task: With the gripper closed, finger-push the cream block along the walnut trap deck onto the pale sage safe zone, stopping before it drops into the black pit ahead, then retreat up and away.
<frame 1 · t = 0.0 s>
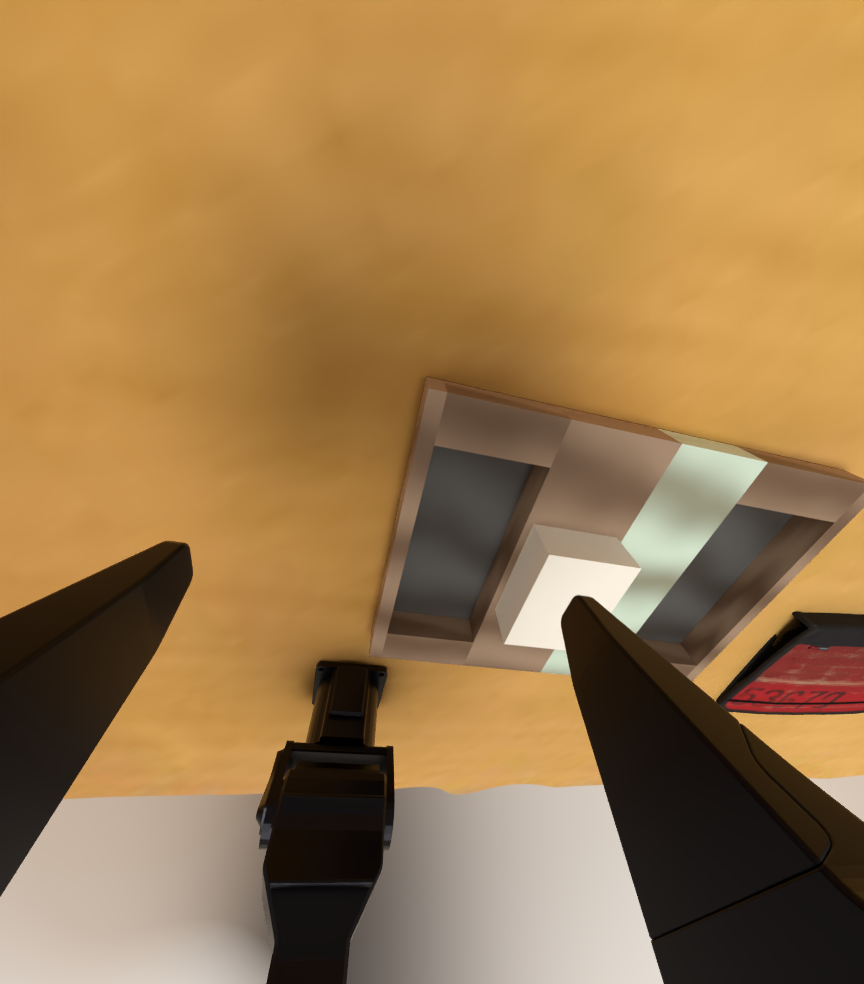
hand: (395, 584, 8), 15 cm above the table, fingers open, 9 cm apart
cream block: (552, 575, 25), point 2 cm above the table, touching trap deck
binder: (828, 659, 39), on the table
trap deck: (582, 558, 28), on the table
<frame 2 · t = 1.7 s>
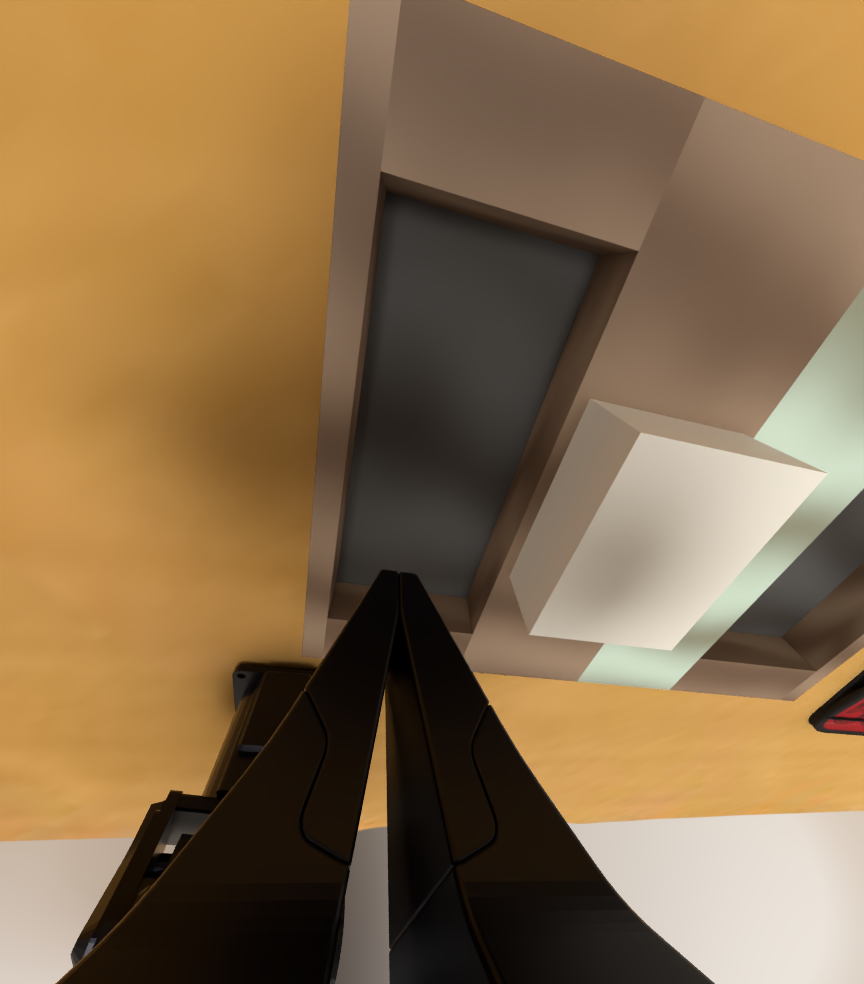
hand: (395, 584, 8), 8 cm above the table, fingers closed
cream block: (614, 512, 14), point 2 cm above the table, touching trap deck
trap deck: (654, 494, 17), on the table
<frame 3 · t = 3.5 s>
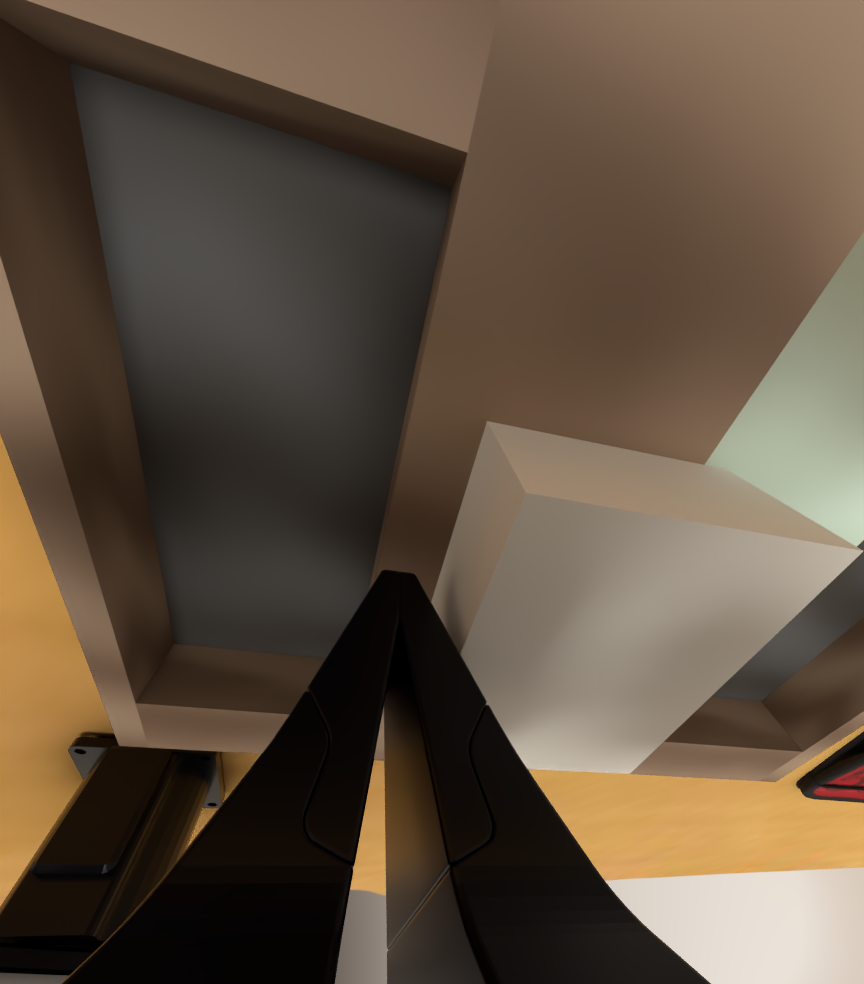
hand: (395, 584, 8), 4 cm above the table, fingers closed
cream block: (547, 576, 10), point 3 cm above the table, touching gripper, trap deck
trap deck: (583, 536, 13), on the table
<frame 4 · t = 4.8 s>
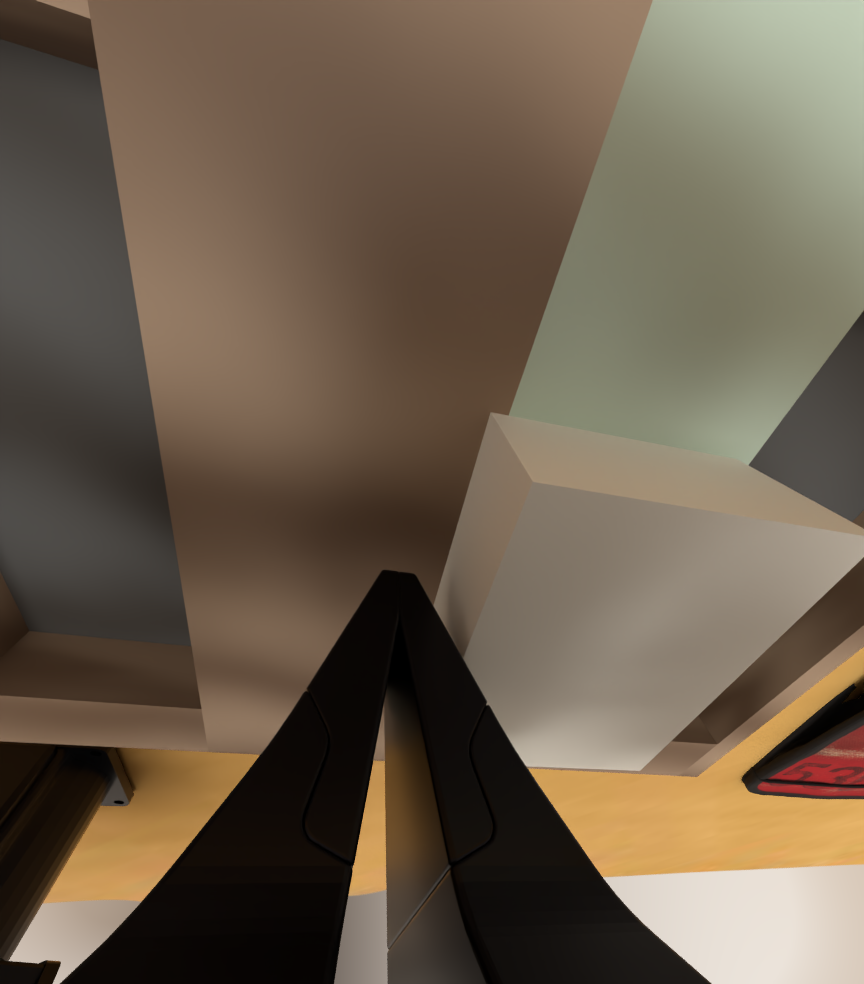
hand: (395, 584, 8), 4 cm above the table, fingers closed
cream block: (553, 570, 10), point 2 cm above the table, touching gripper, trap deck
trap deck: (448, 511, 12), on the table
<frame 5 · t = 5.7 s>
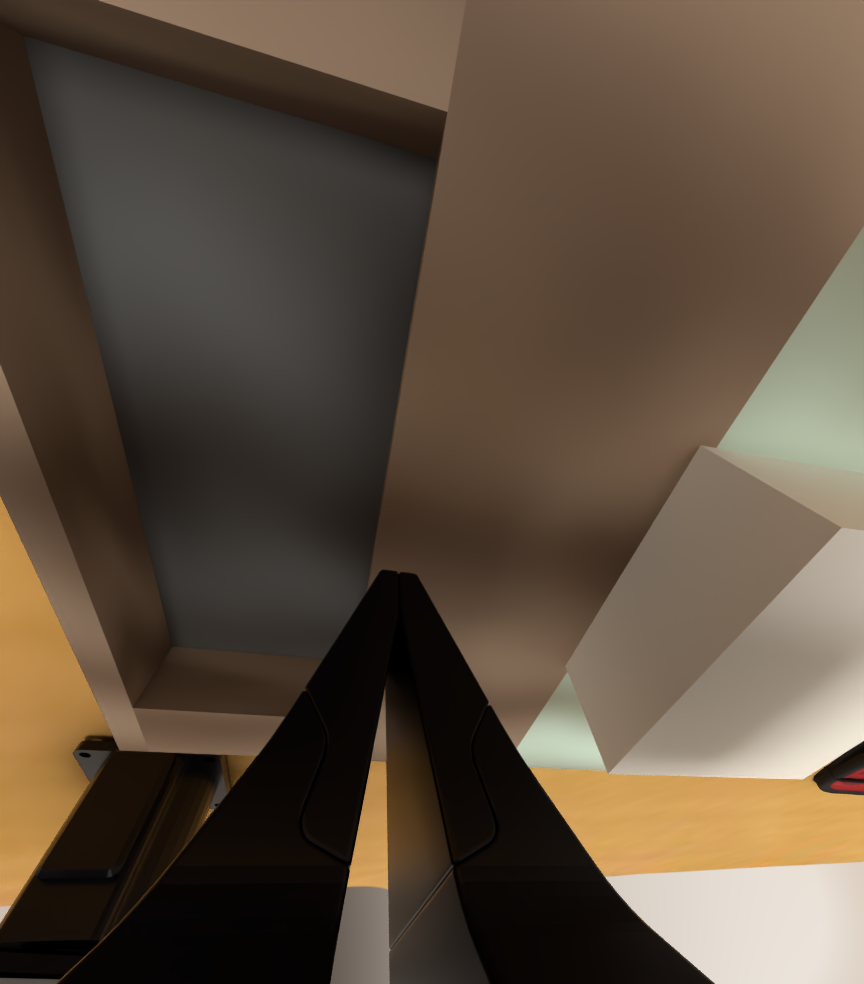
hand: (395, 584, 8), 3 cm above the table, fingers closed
cream block: (714, 588, 10), point 2 cm above the table, touching trap deck
trap deck: (588, 529, 12), on the table
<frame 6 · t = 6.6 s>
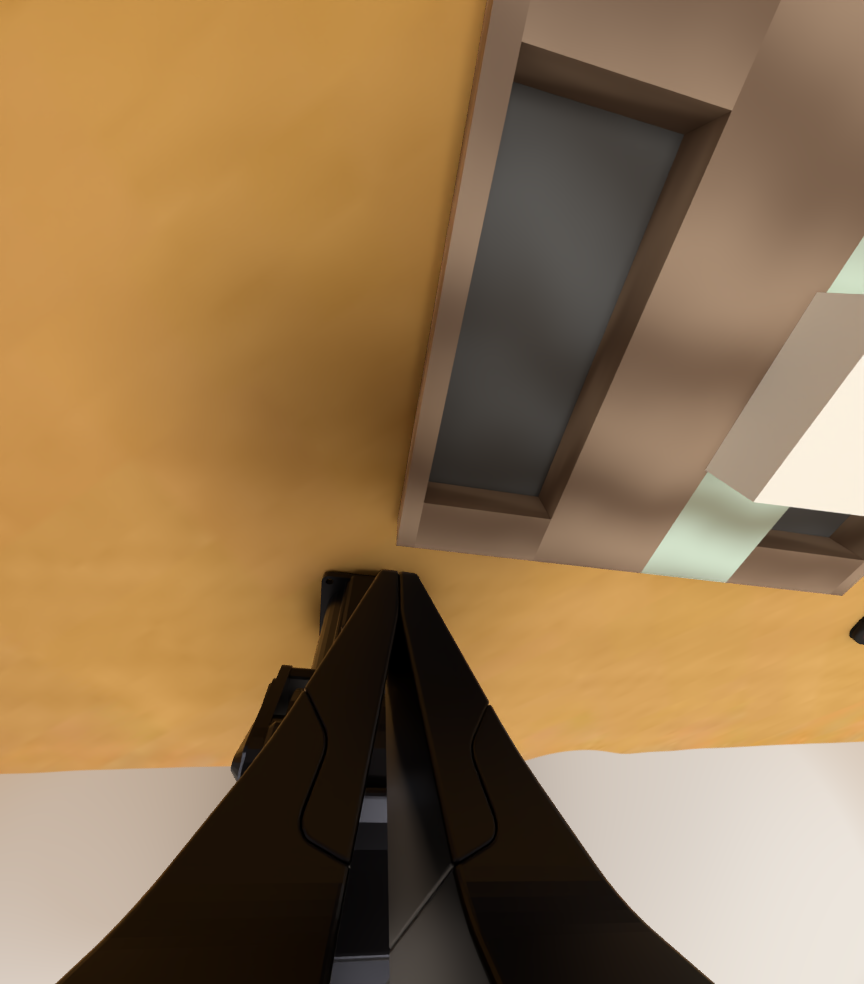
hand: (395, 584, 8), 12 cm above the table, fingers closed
cream block: (810, 401, 17), point 2 cm above the table, touching trap deck
trap deck: (717, 382, 18), on the table
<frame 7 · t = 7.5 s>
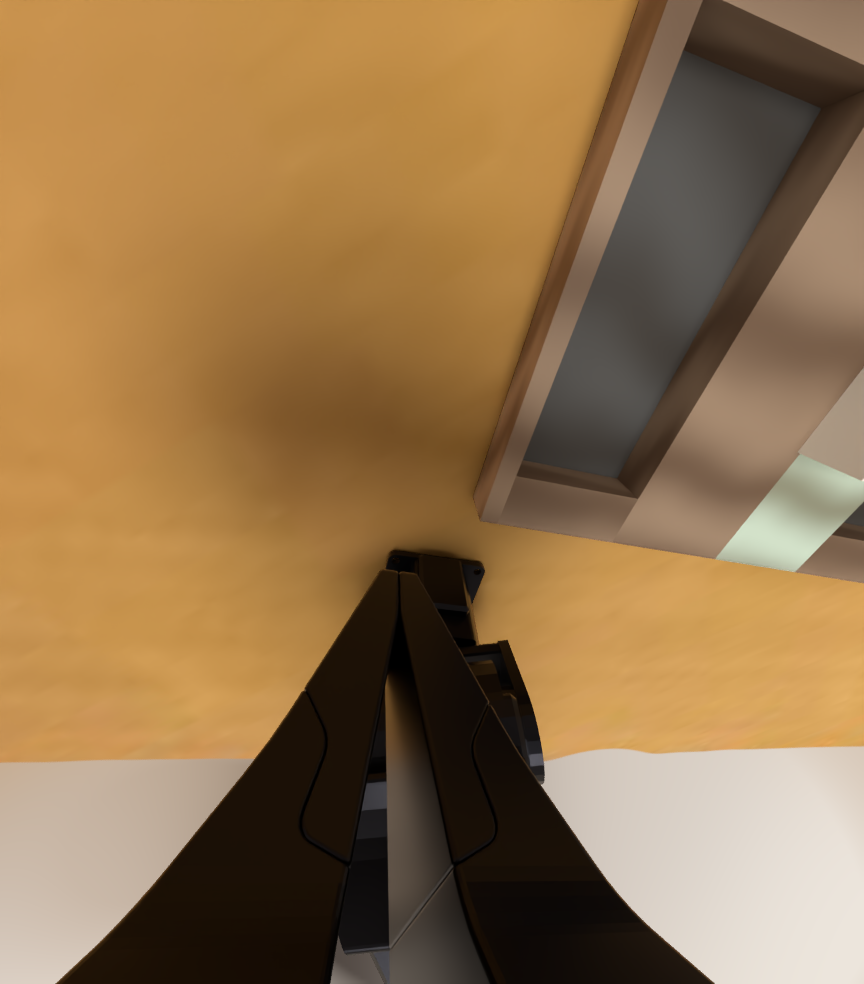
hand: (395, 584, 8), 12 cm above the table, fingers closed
trap deck: (808, 366, 18), on the table
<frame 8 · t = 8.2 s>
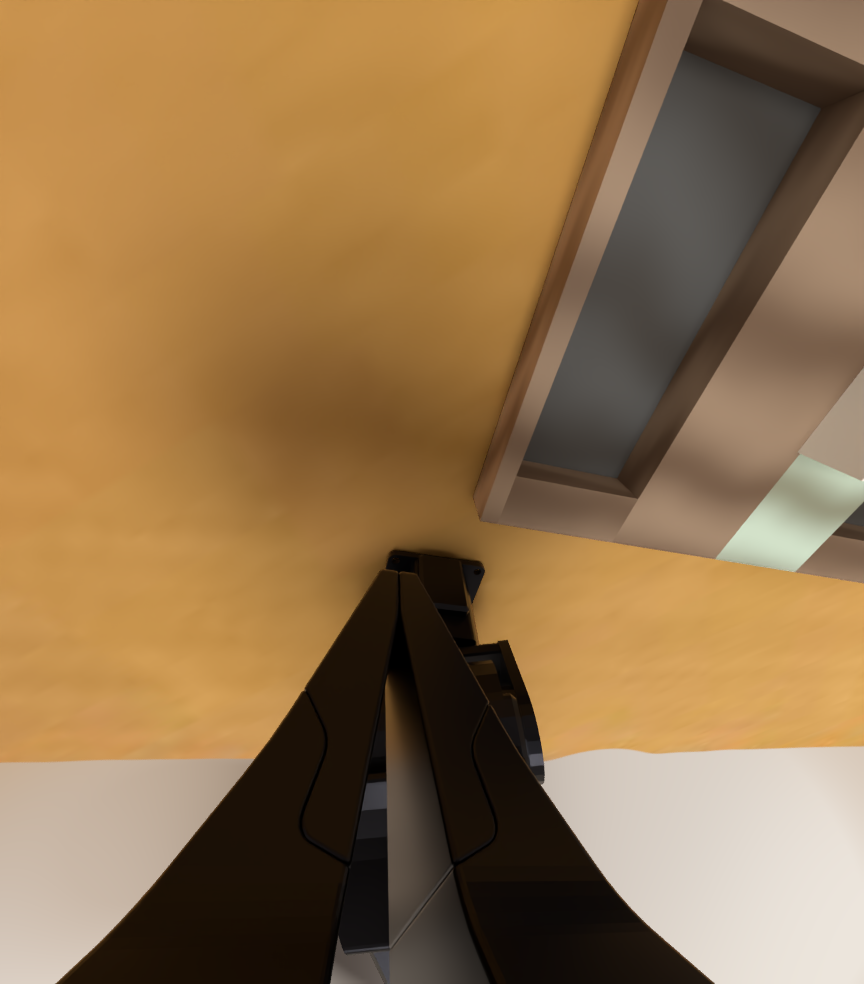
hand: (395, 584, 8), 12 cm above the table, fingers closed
trap deck: (808, 366, 18), on the table
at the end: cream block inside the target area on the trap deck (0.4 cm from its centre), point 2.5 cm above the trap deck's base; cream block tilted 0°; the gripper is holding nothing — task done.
